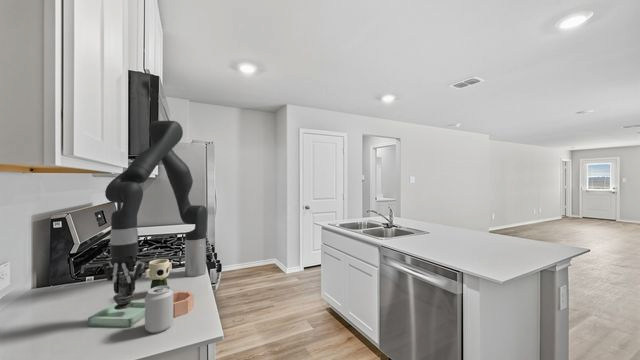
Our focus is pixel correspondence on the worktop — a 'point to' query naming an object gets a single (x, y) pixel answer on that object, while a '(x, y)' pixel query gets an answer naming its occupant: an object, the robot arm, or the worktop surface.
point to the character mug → (158, 272)
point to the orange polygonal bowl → (182, 303)
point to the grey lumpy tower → (123, 294)
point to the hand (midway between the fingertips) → (124, 292)
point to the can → (158, 309)
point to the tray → (118, 315)
